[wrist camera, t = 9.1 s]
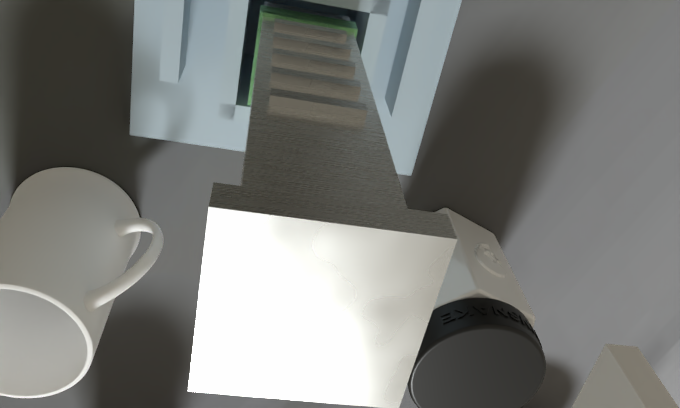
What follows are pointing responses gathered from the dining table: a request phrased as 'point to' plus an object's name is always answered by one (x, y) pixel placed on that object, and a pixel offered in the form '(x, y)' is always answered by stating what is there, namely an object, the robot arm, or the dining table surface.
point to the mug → (63, 275)
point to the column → (315, 235)
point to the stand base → (237, 61)
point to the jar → (478, 331)
